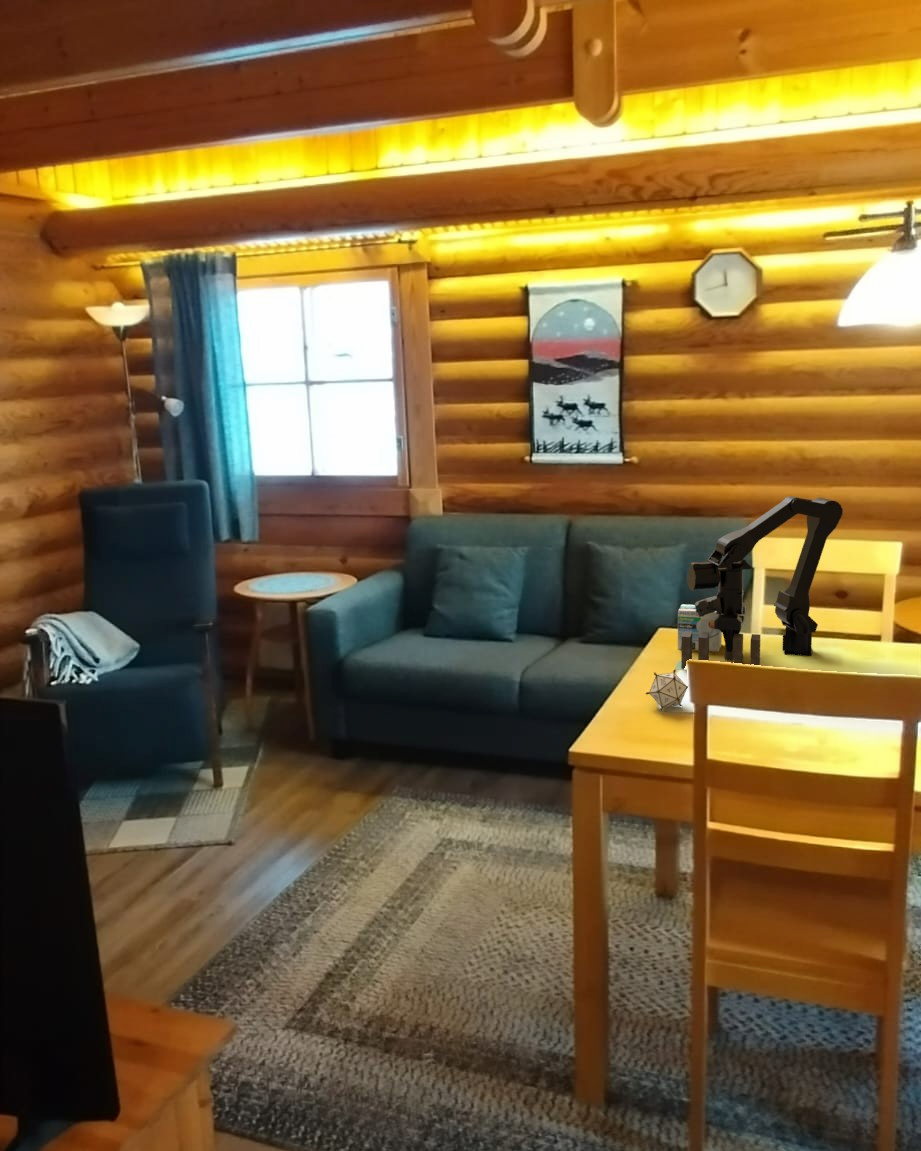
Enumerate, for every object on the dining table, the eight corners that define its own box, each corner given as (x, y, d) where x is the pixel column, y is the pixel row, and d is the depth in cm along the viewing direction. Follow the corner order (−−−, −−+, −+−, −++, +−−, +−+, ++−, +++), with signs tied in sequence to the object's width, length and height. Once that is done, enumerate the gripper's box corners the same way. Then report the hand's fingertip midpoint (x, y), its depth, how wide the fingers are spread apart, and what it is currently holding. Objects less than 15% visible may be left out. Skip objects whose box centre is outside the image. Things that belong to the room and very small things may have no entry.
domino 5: (759, 666, 245) (760, 634, 244) (758, 672, 241) (759, 640, 239) (751, 666, 246) (751, 634, 244) (750, 672, 241) (750, 639, 240)
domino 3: (734, 655, 256) (735, 625, 254) (733, 661, 251) (733, 630, 249) (726, 655, 256) (726, 624, 255) (724, 661, 252) (725, 629, 250)
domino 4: (742, 665, 247) (743, 633, 245) (741, 671, 242) (741, 639, 240) (734, 665, 247) (734, 633, 246) (732, 671, 243) (733, 638, 241)
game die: (675, 725, 220) (690, 699, 213) (638, 711, 221) (652, 684, 214) (683, 695, 226) (698, 668, 219) (646, 681, 227) (660, 654, 220)
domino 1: (692, 662, 250) (692, 631, 249) (689, 669, 246) (689, 637, 244) (683, 662, 251) (684, 631, 249) (681, 668, 247) (681, 636, 245)
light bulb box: (677, 650, 263) (677, 609, 260) (680, 643, 269) (680, 603, 267) (719, 652, 259) (719, 611, 257) (722, 645, 265) (722, 605, 263)
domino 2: (708, 663, 249) (709, 632, 248) (706, 669, 245) (707, 637, 243) (700, 663, 250) (700, 631, 248) (698, 669, 245) (698, 637, 244)
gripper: (701, 578, 261) (700, 637, 264) (693, 595, 244) (692, 657, 247) (746, 579, 258) (745, 639, 261) (741, 596, 240) (740, 660, 244)
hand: (730, 648), depth 253 cm, fingers closed on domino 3, 5 cm apart
